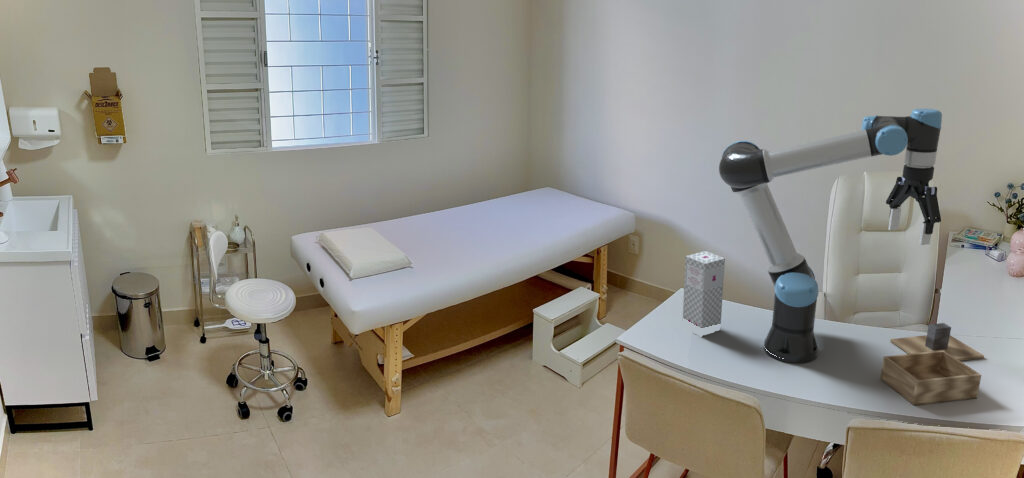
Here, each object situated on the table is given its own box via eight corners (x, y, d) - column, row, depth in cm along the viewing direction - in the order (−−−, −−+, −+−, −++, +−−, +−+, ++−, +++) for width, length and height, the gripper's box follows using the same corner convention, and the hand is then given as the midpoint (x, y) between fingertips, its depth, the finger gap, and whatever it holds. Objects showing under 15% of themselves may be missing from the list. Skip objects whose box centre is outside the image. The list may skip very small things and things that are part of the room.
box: (682, 327, 234) (685, 256, 226) (701, 321, 238) (705, 250, 230) (700, 337, 227) (705, 263, 219) (720, 330, 231) (725, 258, 223)
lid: (924, 366, 205) (928, 340, 203) (890, 343, 219) (893, 318, 217) (983, 359, 208) (988, 333, 205) (945, 337, 222) (950, 312, 219)
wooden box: (914, 405, 186) (918, 382, 184) (880, 378, 199) (883, 356, 197) (976, 398, 188) (981, 374, 186) (939, 372, 201) (943, 350, 199)
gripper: (964, 174, 189) (951, 249, 195) (902, 155, 212) (892, 223, 219) (938, 176, 188) (925, 251, 195) (879, 156, 211) (869, 224, 218)
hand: (908, 236), depth 207 cm, fingers open, 13 cm apart
